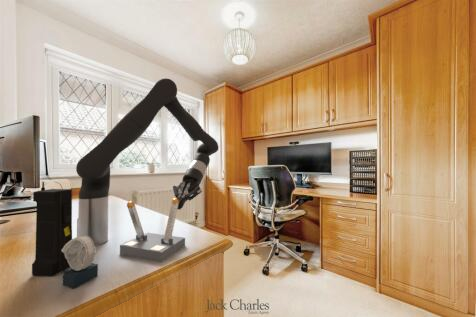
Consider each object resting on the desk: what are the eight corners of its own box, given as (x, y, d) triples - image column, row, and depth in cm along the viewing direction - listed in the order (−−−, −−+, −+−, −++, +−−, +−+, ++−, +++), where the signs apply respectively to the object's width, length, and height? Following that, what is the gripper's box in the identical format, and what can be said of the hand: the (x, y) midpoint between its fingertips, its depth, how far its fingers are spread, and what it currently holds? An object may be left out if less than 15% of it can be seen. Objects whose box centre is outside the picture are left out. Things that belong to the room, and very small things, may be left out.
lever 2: (161, 241, 64) (171, 197, 69) (166, 240, 66) (175, 198, 71) (167, 241, 63) (177, 197, 68) (172, 241, 65) (180, 199, 70)
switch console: (119, 254, 63) (119, 240, 64) (147, 240, 75) (147, 228, 75) (161, 262, 58) (161, 247, 58) (185, 246, 69) (185, 233, 69)
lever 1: (136, 239, 68) (124, 203, 63) (141, 234, 70) (130, 199, 65) (141, 240, 67) (129, 203, 63) (146, 235, 69) (135, 200, 65)
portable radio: (78, 265, 57) (79, 180, 57) (56, 277, 51) (58, 182, 51) (54, 264, 57) (55, 180, 58) (30, 276, 51) (32, 182, 52)
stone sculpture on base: (82, 271, 53) (82, 231, 53) (102, 277, 50) (102, 235, 51) (57, 283, 48) (58, 239, 48) (78, 290, 45) (78, 243, 45)
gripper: (178, 167, 82) (157, 201, 70) (205, 167, 78) (188, 203, 66) (185, 178, 87) (167, 212, 75) (212, 179, 83) (197, 215, 71)
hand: (177, 208), depth 70 cm, fingers closed
